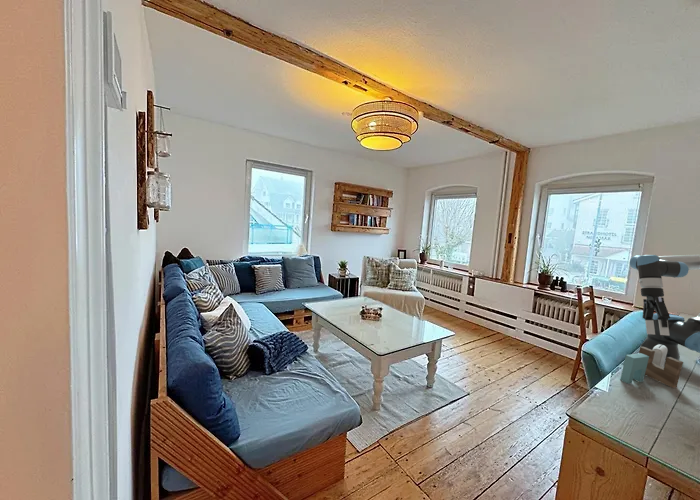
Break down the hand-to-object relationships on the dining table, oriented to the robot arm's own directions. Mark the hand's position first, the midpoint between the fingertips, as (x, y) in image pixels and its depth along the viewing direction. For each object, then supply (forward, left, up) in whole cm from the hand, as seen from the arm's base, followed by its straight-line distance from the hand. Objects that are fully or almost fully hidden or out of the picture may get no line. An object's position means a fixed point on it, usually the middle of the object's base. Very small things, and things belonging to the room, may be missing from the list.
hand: (657, 334), depth 136 cm
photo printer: (-13, -4, -21) cm, 24 cm away
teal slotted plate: (+13, +1, -20) cm, 24 cm away
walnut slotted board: (-1, +2, -20) cm, 20 cm away
